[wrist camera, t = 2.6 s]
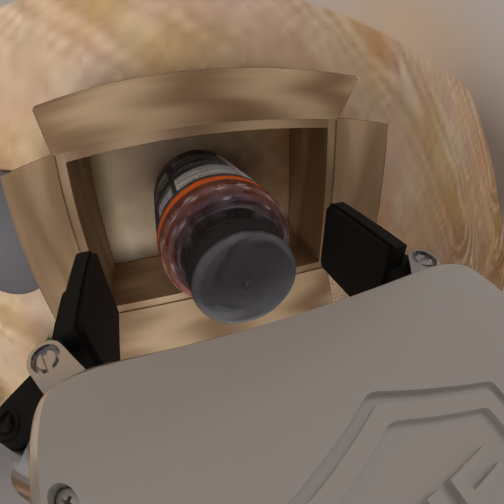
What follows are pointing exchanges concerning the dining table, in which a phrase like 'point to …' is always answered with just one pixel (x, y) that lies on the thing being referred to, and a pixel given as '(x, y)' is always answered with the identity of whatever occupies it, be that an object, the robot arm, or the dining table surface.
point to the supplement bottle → (222, 238)
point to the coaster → (12, 254)
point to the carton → (177, 126)
